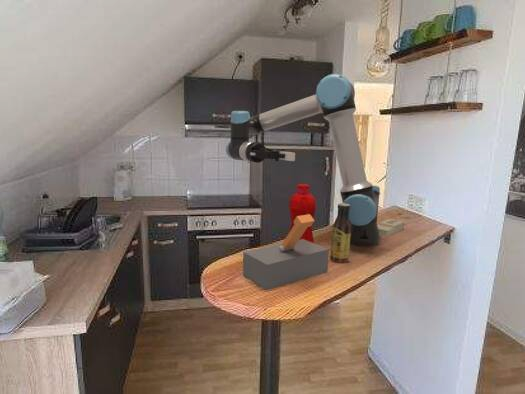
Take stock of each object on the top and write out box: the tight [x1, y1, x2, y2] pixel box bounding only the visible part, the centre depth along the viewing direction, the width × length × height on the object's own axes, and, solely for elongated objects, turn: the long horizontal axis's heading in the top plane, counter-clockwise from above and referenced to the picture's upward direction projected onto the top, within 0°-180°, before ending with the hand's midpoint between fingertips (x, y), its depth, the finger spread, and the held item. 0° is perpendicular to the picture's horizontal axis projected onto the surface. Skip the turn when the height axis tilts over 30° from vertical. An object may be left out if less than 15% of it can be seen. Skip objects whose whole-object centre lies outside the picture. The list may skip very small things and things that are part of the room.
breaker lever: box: [279, 214, 315, 252], centre depth 103 cm, size 5×3×14 cm
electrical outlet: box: [377, 218, 405, 238], centre depth 157 cm, size 7×4×18 cm
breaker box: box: [242, 239, 330, 291], centre depth 107 cm, size 24×12×8 cm, turn 126°
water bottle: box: [288, 183, 317, 244], centre depth 126 cm, size 9×11×25 cm
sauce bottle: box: [329, 202, 351, 263], centre depth 119 cm, size 6×6×20 cm
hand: (293, 156), depth 115 cm, fingers closed
